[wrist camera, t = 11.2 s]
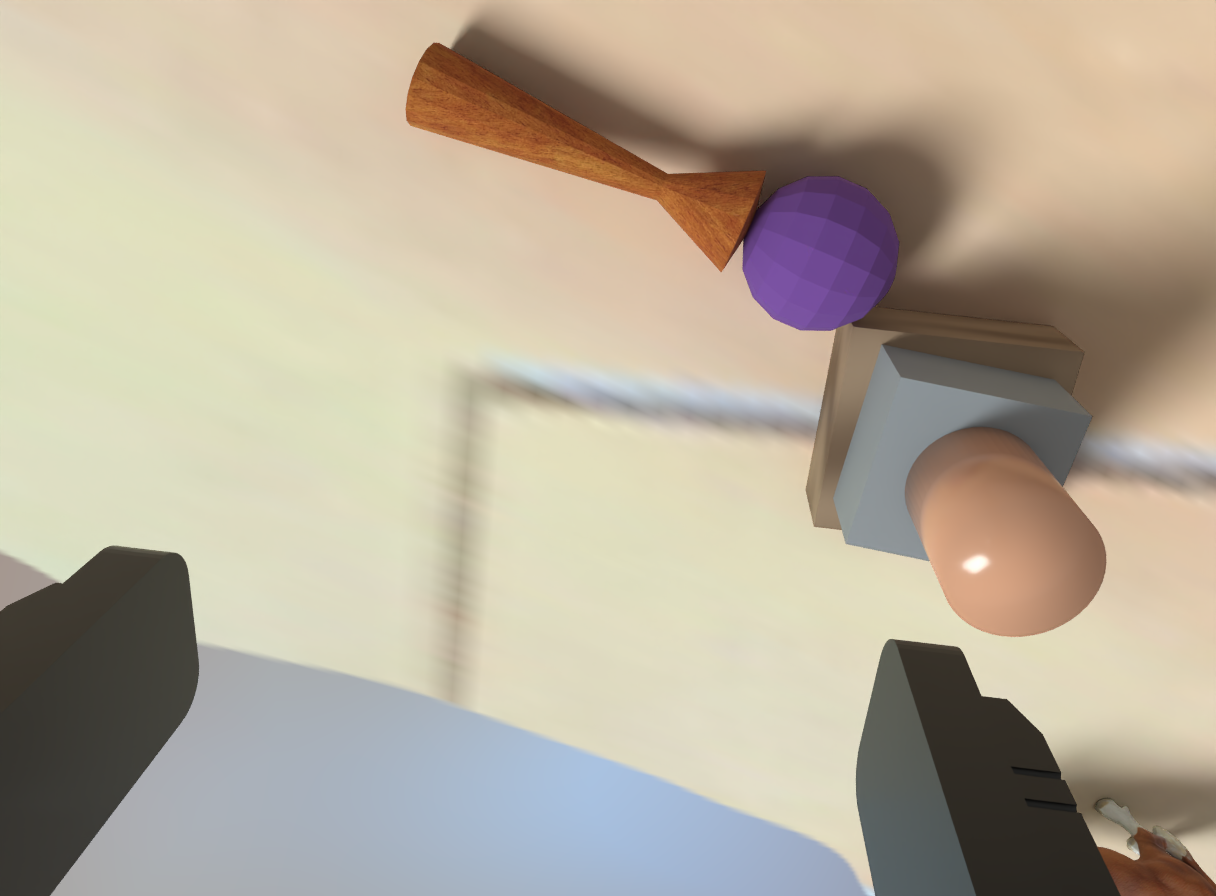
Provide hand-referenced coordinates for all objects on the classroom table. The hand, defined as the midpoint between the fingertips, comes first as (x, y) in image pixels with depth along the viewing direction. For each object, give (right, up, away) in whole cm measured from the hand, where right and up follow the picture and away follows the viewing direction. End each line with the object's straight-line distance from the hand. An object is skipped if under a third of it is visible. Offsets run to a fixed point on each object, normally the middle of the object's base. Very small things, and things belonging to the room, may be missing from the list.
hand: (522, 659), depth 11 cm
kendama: (+3, +14, +29) cm, 33 cm away
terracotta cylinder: (+15, +1, +25) cm, 29 cm away
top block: (+15, +3, +28) cm, 32 cm away
